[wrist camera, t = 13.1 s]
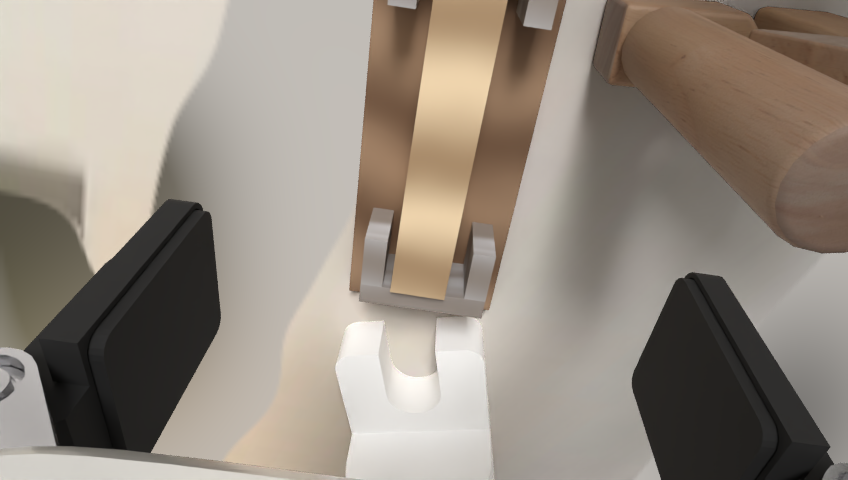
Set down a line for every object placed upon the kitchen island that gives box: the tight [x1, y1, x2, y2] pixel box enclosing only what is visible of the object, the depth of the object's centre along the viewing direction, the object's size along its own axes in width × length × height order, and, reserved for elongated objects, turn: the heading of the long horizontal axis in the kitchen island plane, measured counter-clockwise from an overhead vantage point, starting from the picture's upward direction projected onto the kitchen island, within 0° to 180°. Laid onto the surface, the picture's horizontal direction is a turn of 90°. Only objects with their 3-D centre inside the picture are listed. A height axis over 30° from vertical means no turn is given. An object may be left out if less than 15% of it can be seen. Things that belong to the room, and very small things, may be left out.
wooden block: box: [593, 0, 848, 253], centre depth 20 cm, size 4×11×18 cm, turn 85°
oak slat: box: [390, 0, 508, 300], centre depth 28 cm, size 16×3×4 cm, turn 171°
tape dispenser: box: [335, 316, 494, 480], centre depth 38 cm, size 10×18×11 cm, turn 7°
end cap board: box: [349, 0, 566, 318], centre depth 29 cm, size 24×9×4 cm, turn 172°
